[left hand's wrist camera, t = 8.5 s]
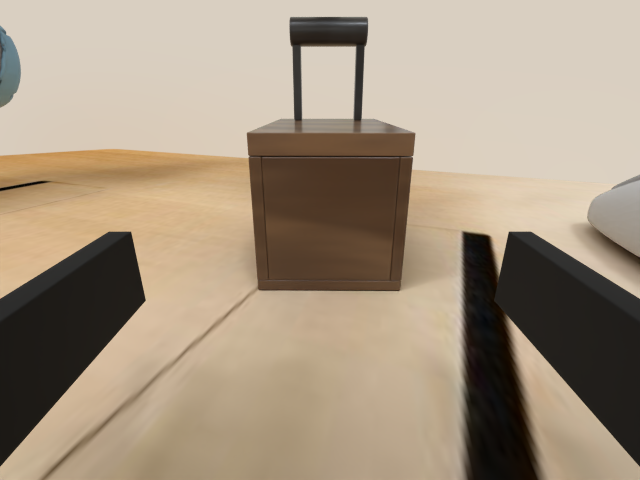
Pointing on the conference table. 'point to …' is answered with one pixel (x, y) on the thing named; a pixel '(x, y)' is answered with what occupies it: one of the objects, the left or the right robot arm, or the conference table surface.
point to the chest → (330, 221)
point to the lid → (329, 133)
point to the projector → (619, 214)
